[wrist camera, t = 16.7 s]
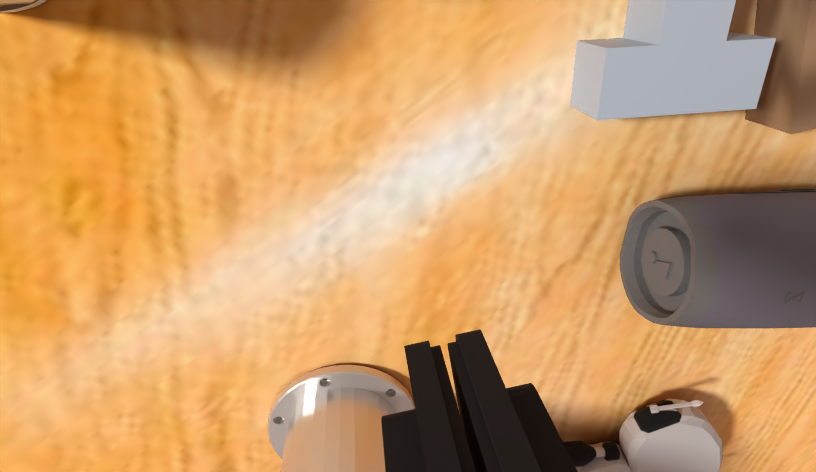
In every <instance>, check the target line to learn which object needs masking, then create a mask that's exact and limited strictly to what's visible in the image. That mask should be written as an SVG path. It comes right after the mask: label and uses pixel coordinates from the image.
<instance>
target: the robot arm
mask: <svg viewBox="0 0 816 472" xmlns="http://www.w3.org/2000/svg"><path fill="white" fill-rule="evenodd" d="M448 351H449V356H450V362H451V367H452V373H453V379H454V384H455V390H456V395H457V401H458V407H459V411H458V407H457V404H456V400H455V396H454V393H453V389H452V386H451V382H450V379H449V375H448V372H447V368H446V365H445V361H444V358H443V354H442V351H441V347H440V345H439V346H434V347H430V344H429V341H425V342H420V343H416V344H411V345H407V346H405V353H406V358H407V364H408V370H409V376H410V381H411V387H412V393H413V398H414V402H413V399H412V397H411V395H410V394H409V392H408V390H407V389H406V388H405V387H404V386H403V385H402V384H401V383H400V382H399V381H397V380H396V379H395V378H393V377H392V376H390V375H388V374H386V373H384V372H382V371H379V370H377V369H373V368H369V367H365V366H358V365H334V366H329V367H324V368H319V369H316V370H314V371H311V372H308V373H305V374H304V375H302V376H300V377H298V378H297V379H295V380H293V381H292V382H291V383H290V384H288V385H287V386H286V387H285V388H284V389H283V390H282V391H281V392H280V394H279V395H278V396H277V397H276V399H275V401H274V403H273V405H272V408H271V411H270V416H269V421H268V434H269V439H270V442H271V444H272V446H273V448H274V450H275V452H276V453H277V454H278V455H279V456H280V458H281V459H282V464H281V471H280V472H578V471H577V469H576V467H575V465H574V463H573V461H572V459H571V457H570V455H569V453H568V451H567V449H566V447H565V445H564V443H563V442H562V440H561V438H560V436H559V434H558V432H557V430H556V428H555V426H554V424H553V422H552V420H551V418H550V416H549V414H548V412H547V410H546V408H545V406H544V404H543V402H542V400H541V398H540V396H539V394H538V392H537V390H536V389H535V387H534V385H533V384H531V383H529V384H524V385H520V386H515V387H511V388H505V385H504V383H503V381H502V378H501V376H500V374H499V371H498V369H497V367H496V364H495V362H494V360H493V357H492V355H491V352H490V350H489V348H488V345H487V343H486V341H485V338H484V336H483V334H482V332H481V330H475V331H471V332H466V333H461V334H457V335H456V342H452V343H448ZM414 404H415V405H414ZM459 412H460V414H459Z"/></svg>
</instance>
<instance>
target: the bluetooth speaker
mask: <svg viewBox="0 0 816 472" xmlns="http://www.w3.org/2000/svg"><path fill="white" fill-rule="evenodd" d="M620 271H621V277H622V282H623V285H624V289H625V291H626V294H627V297H628V299H629V301H630V303H631V304H632V306H633V308H634V309H635V310H636V311H637V312H638V313H639V314H640V315H641V316H643V317H644V318H646V319H648V320H649V321H651V322H653V323H656V324H661V325H671V326H679V327H694V328H804V327H816V189H799V190H781V191H768V192H744V193H730V194H715V195H696V196H683V197H674V198H666V199H660V200H654V201H649V202H646V203H643V204H642V205H640V206H639V207H638V208H637V209H636V210H635V211H634V212H633V213H632V215H631V216H630V218H629V222H628V225H627V229H626V232H625V236H624V240H623V244H622V248H621V253H620Z"/></svg>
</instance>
